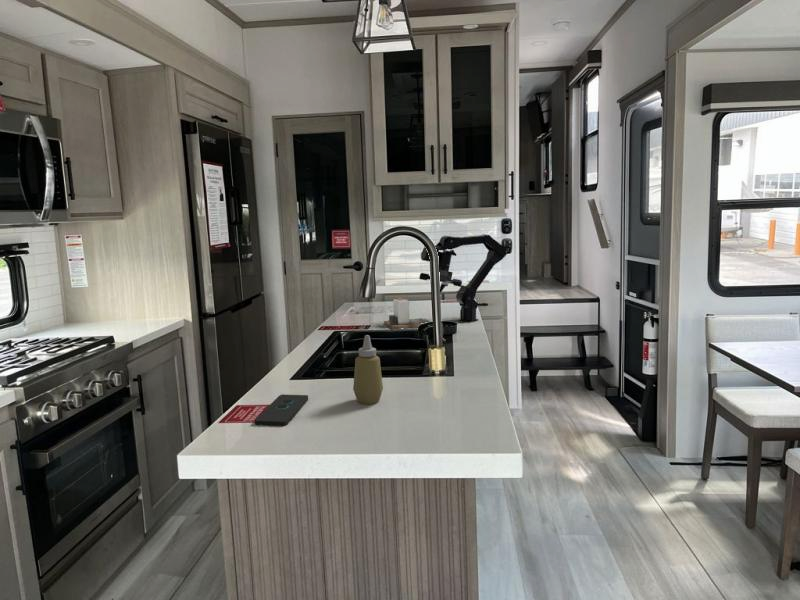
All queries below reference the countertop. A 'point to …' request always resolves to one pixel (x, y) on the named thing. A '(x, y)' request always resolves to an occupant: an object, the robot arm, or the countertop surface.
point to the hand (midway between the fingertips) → (436, 298)
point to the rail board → (412, 324)
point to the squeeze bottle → (367, 374)
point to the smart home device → (281, 410)
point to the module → (401, 310)
